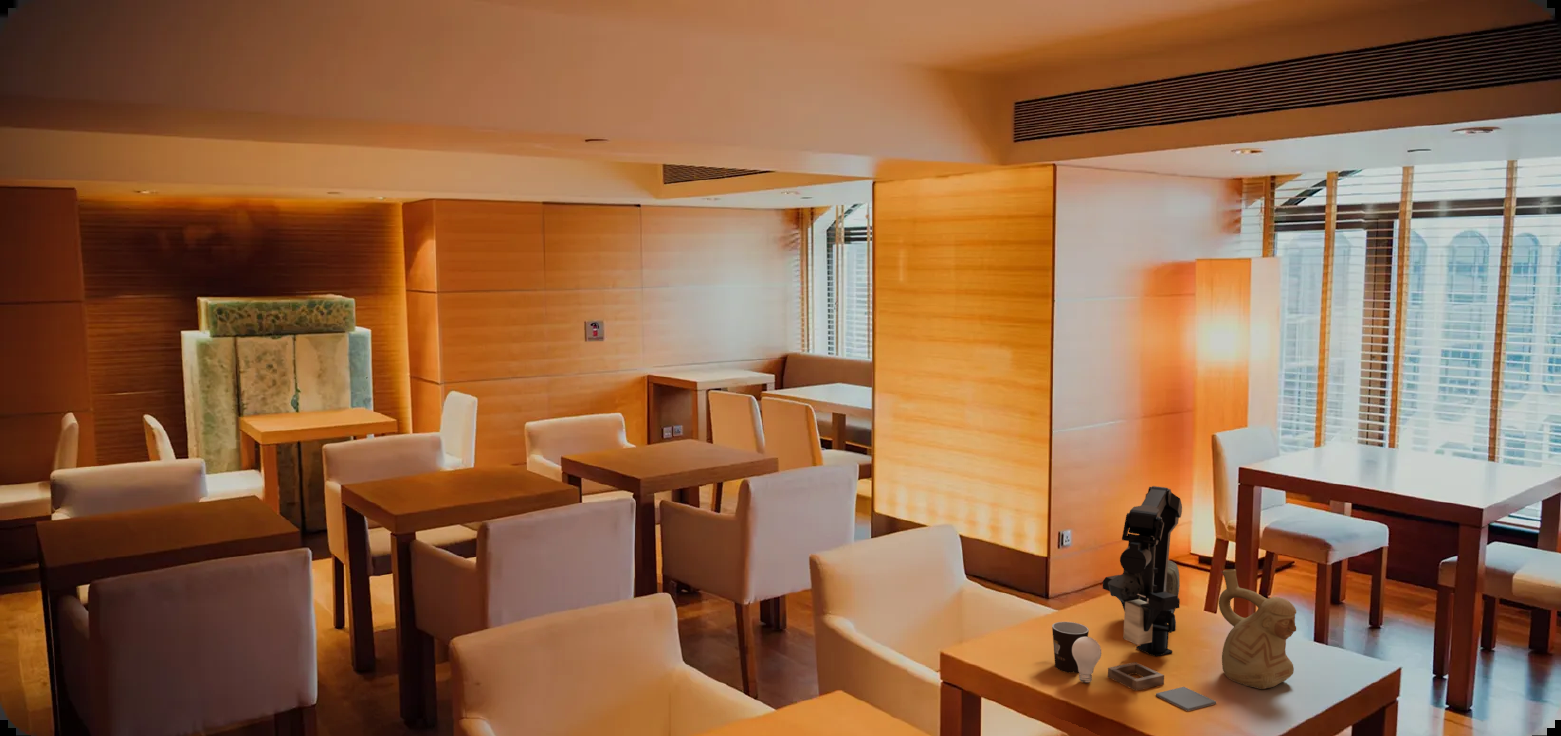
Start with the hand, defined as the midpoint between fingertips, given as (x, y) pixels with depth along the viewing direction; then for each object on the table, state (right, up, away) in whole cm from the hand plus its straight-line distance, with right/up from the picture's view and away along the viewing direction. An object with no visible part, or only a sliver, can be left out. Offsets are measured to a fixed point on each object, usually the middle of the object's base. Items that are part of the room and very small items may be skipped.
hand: (1138, 627), depth 240 cm
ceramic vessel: (+29, -13, +4) cm, 32 cm away
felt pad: (+7, -14, -9) cm, 18 cm away
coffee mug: (-14, -12, +10) cm, 21 cm away
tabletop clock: (+17, -10, +40) cm, 45 cm away
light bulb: (-13, -13, -1) cm, 18 cm away
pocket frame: (0, -13, +1) cm, 13 cm away
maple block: (0, -3, 0) cm, 3 cm away
